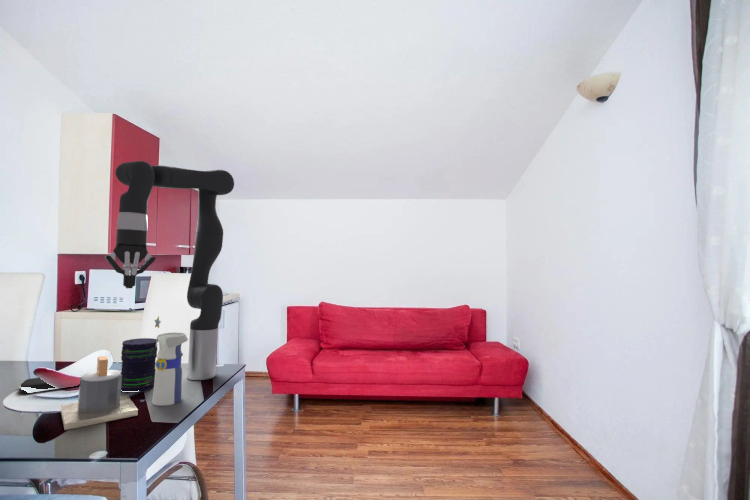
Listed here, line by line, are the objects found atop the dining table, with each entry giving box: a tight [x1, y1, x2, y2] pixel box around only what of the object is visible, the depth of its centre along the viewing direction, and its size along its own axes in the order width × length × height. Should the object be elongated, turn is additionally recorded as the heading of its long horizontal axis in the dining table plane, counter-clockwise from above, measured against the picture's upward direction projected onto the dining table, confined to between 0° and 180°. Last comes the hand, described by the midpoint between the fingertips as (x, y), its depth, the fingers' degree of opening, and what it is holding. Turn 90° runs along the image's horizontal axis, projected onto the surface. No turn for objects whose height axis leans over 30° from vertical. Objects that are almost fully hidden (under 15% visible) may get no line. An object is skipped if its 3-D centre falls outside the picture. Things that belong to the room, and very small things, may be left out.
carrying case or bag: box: [20, 377, 55, 395], centre depth 120 cm, size 11×3×15 cm
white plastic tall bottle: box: [151, 316, 189, 406], centre depth 112 cm, size 8×9×25 cm
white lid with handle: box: [81, 355, 121, 382], centre depth 101 cm, size 8×8×8 cm
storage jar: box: [120, 337, 158, 393], centre depth 122 cm, size 10×10×15 cm
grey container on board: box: [60, 374, 139, 431], centre depth 101 cm, size 15×15×10 cm
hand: (128, 288), depth 111 cm, fingers closed
